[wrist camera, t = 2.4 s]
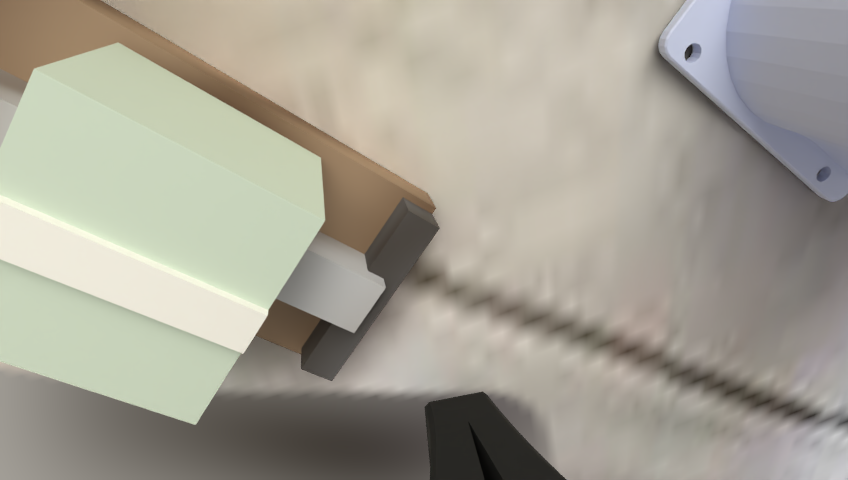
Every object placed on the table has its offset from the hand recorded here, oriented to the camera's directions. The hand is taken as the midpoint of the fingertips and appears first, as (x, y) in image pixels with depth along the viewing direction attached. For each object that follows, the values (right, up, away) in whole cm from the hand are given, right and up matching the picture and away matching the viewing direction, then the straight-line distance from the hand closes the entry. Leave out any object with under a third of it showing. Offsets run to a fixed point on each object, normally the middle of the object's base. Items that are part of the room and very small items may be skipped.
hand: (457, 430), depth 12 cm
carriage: (-7, +5, +1) cm, 9 cm away
